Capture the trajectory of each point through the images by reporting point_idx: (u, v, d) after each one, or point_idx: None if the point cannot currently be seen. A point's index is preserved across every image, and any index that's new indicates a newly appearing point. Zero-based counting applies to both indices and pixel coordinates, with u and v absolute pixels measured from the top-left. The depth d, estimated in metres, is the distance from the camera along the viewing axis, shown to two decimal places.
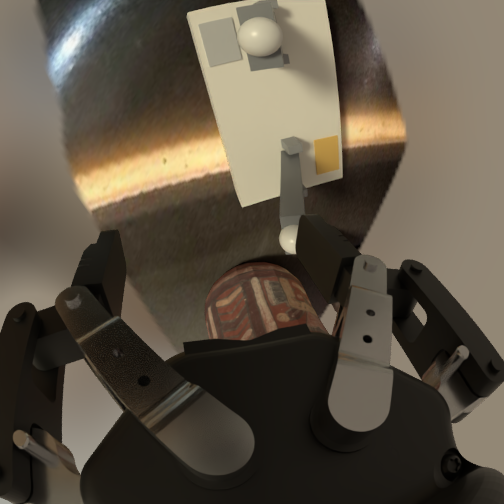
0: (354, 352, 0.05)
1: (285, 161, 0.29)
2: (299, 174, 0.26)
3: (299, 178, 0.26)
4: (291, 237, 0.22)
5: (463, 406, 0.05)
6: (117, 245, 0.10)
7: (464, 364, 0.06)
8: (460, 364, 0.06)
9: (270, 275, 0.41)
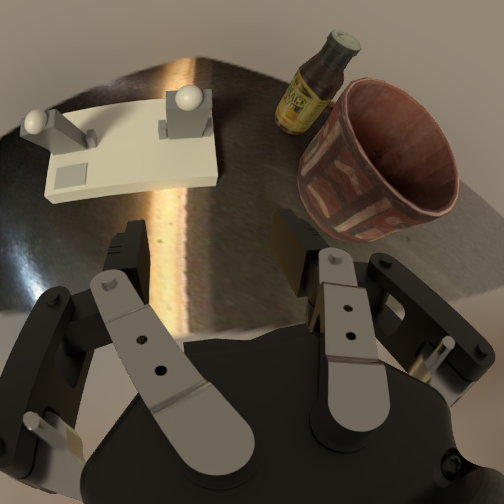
0: (341, 352, 0.05)
1: None
2: None
3: None
4: (179, 96, 0.22)
5: (458, 395, 0.05)
6: (144, 234, 0.11)
7: (451, 353, 0.06)
8: (447, 354, 0.06)
9: (302, 158, 0.35)
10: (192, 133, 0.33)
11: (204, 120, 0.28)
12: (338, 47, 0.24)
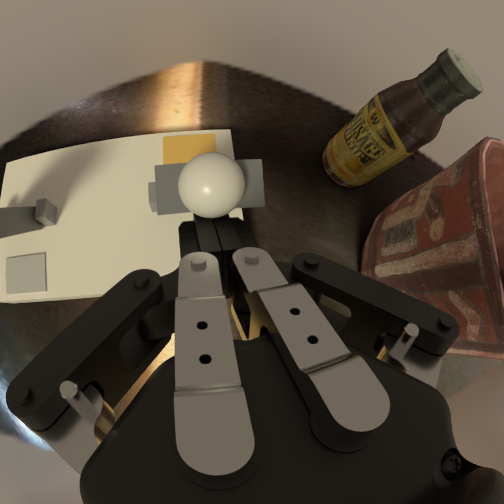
0: (314, 360, 0.05)
1: None
2: None
3: None
4: (188, 189, 0.10)
5: (437, 373, 0.06)
6: None
7: None
8: (414, 341, 0.07)
9: (376, 243, 0.23)
10: None
11: None
12: (460, 82, 0.12)
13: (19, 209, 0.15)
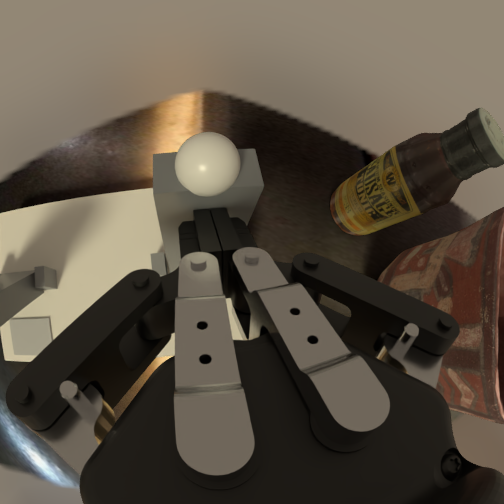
0: (314, 360, 0.05)
1: None
2: None
3: None
4: (184, 155, 0.10)
5: (437, 373, 0.06)
6: None
7: (415, 337, 0.07)
8: (414, 341, 0.07)
9: None
10: None
11: None
12: (489, 154, 0.12)
13: (18, 283, 0.15)
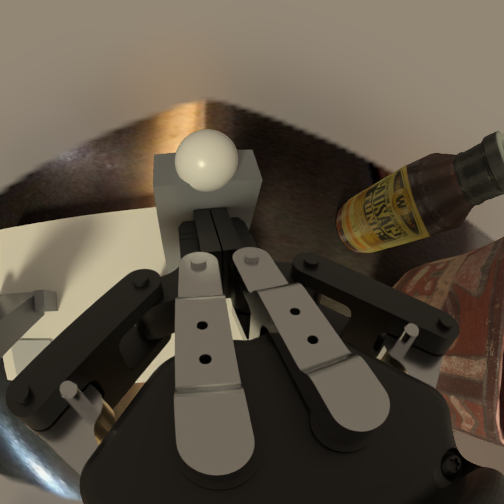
0: (314, 360, 0.05)
1: None
2: None
3: None
4: (183, 148, 0.10)
5: (437, 373, 0.06)
6: None
7: (415, 337, 0.07)
8: (414, 341, 0.07)
9: None
10: None
11: None
12: None
13: (18, 309, 0.14)
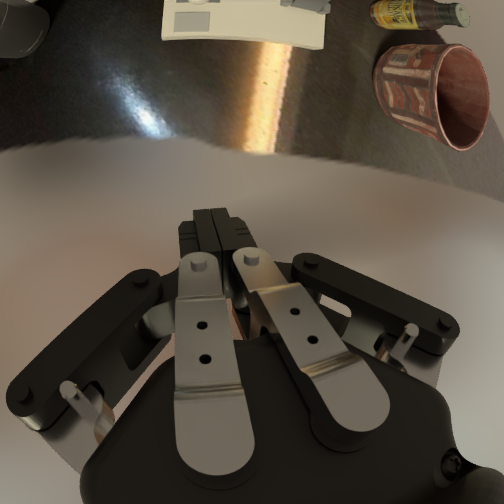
0: (314, 360, 0.05)
1: None
2: None
3: None
4: None
5: (437, 373, 0.06)
6: None
7: (415, 337, 0.07)
8: (414, 341, 0.07)
9: (387, 58, 0.34)
10: (316, 3, 0.27)
11: None
12: (454, 19, 0.19)
13: None
